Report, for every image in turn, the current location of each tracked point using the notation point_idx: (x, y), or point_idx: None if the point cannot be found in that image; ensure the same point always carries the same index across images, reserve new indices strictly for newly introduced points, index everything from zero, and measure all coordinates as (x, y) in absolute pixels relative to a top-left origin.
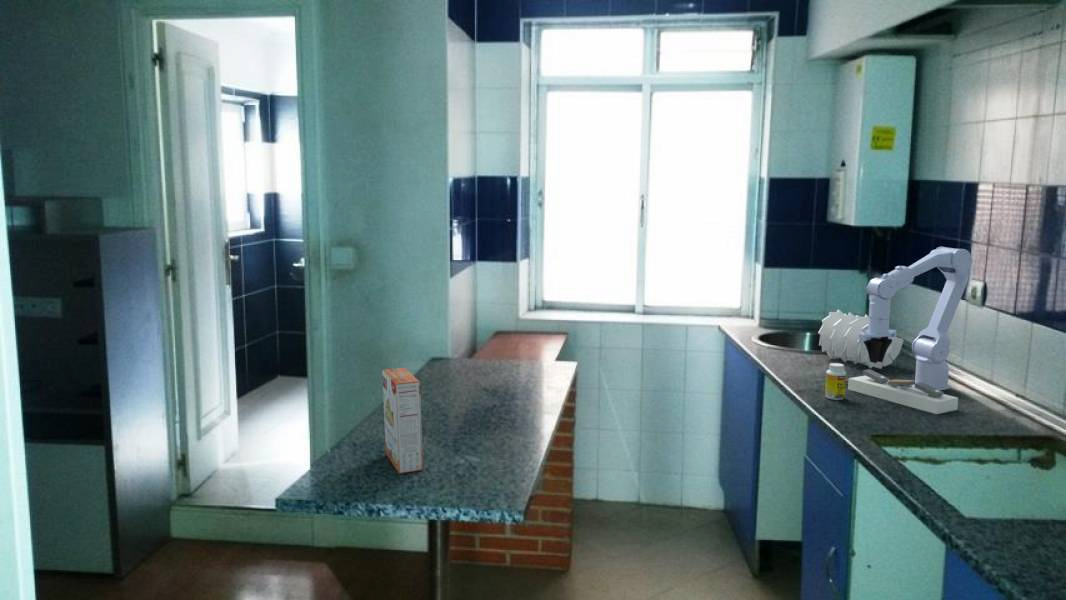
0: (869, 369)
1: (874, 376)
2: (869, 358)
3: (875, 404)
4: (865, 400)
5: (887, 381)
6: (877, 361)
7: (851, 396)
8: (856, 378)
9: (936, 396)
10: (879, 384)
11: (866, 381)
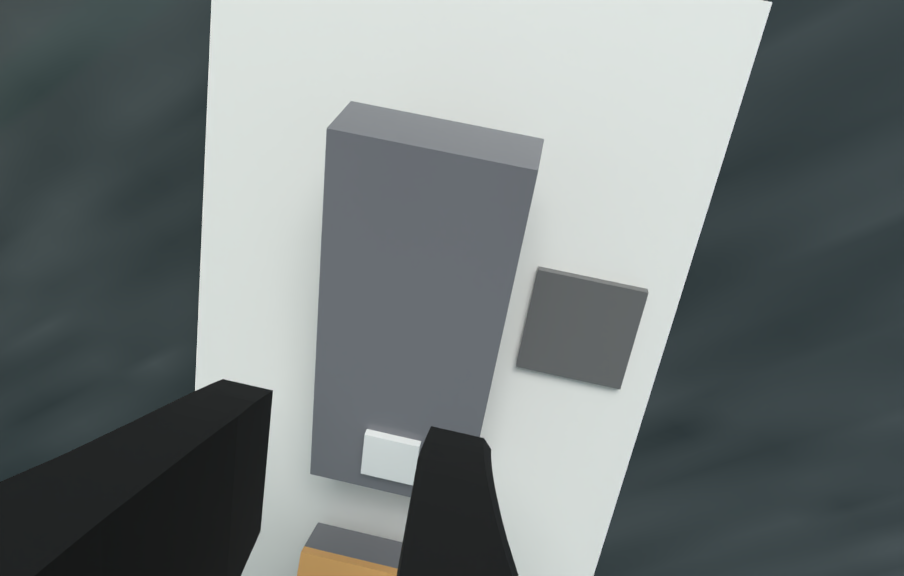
0: (515, 175)
1: (316, 361)
2: (157, 413)
3: (28, 460)
4: (55, 338)
5: (304, 547)
6: (244, 567)
7: (46, 156)
8: (324, 7)
9: None
10: (286, 424)
11: (286, 225)
